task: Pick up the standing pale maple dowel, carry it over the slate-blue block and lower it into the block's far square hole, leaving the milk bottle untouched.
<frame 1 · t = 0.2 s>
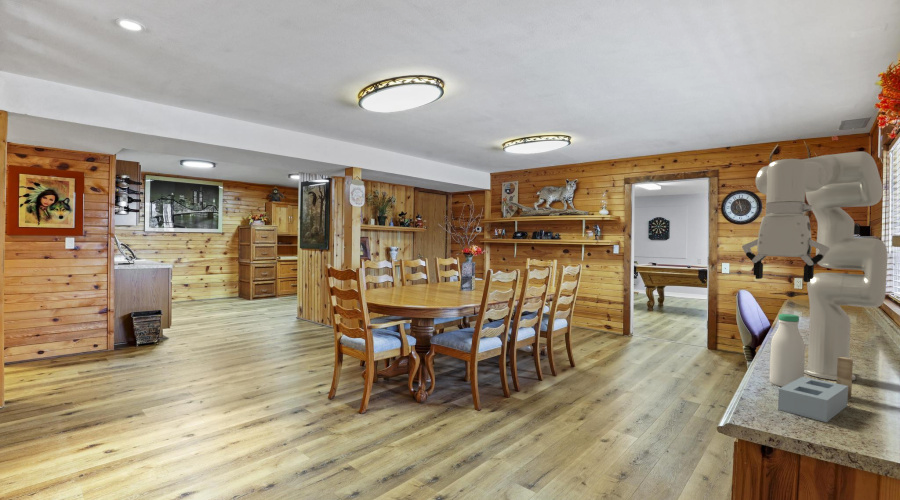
hand: (782, 280, 108), 31 cm above the counter, tool pointing down, fingers open, 9 cm apart
hole block: (813, 407, 107), on the counter
milk bottle: (786, 385, 124), on the counter
peg: (843, 396, 116), on the counter
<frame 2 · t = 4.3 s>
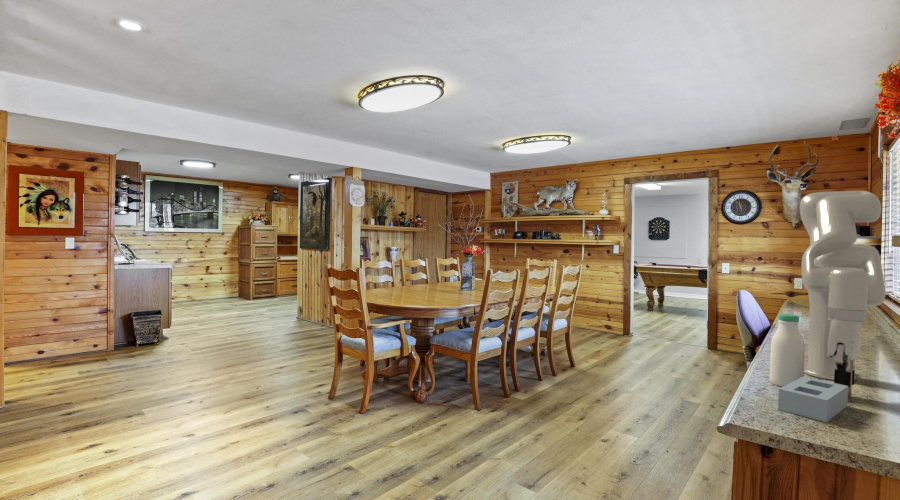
hand: (844, 384, 116), 3 cm above the counter, tool pointing down, fingers closed on peg, 3 cm apart
peg: (843, 396, 116), on the counter, touching gripper
everything else where it was.
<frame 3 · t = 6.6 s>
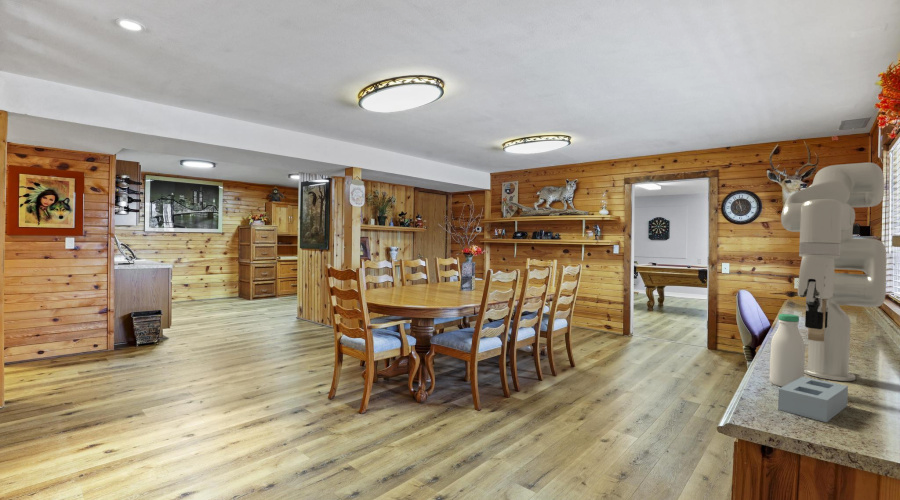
hand: (816, 327, 105), 20 cm above the counter, tool pointing down, fingers closed on peg, 3 cm apart
peg: (815, 340, 105), point 17 cm above the counter, touching gripper
everything else where it was.
when the fingers open (6 cm above the counter, at t = 8.8 s): peg drops 3 cm, resting in hole block.
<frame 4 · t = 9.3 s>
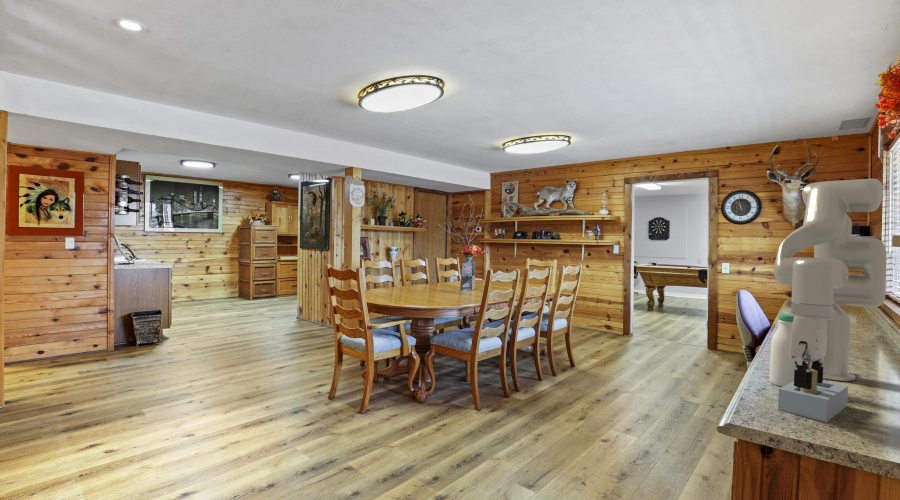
hand: (808, 384, 104), 7 cm above the counter, tool pointing down, fingers open, 8 cm apart
peg: (807, 411, 104), resting in hole block
everything else where it was.
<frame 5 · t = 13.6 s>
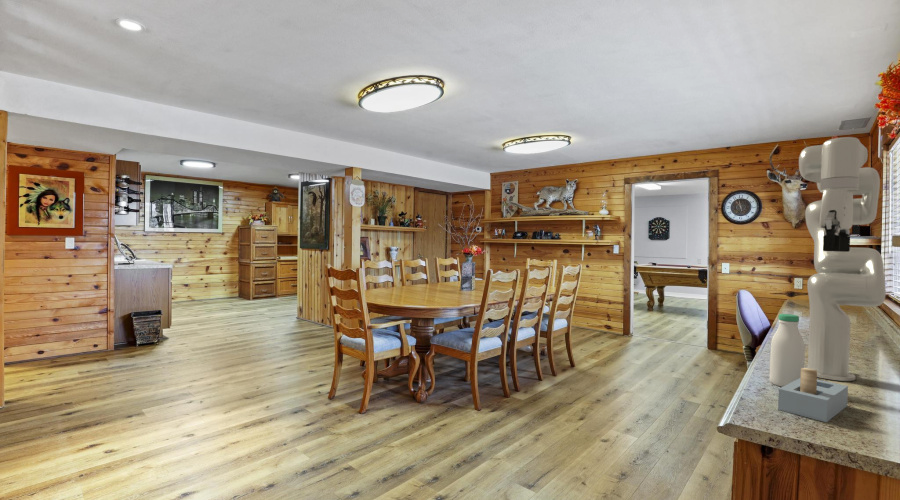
hand: (836, 251, 115), 38 cm above the counter, tool pointing down, fingers open, 9 cm apart
nothing on the counter moved.
at the end: peg 0.1 cm from the target spot on the hole block, point 0.0 cm above the hole block's base; peg tilted 1°; the gripper is holding nothing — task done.
